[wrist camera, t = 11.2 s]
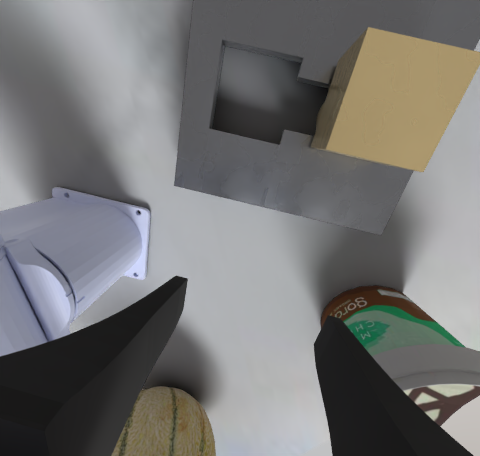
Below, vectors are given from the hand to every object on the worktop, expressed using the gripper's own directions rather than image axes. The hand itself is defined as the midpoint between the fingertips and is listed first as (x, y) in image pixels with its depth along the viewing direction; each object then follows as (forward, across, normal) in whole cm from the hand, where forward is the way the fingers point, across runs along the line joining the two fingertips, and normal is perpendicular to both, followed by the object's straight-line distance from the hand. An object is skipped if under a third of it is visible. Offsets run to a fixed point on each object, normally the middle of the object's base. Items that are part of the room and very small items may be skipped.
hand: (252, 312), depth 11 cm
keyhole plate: (+10, 0, -10) cm, 15 cm away
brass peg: (+10, -4, -10) cm, 15 cm away
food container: (+11, -10, +6) cm, 16 cm away
